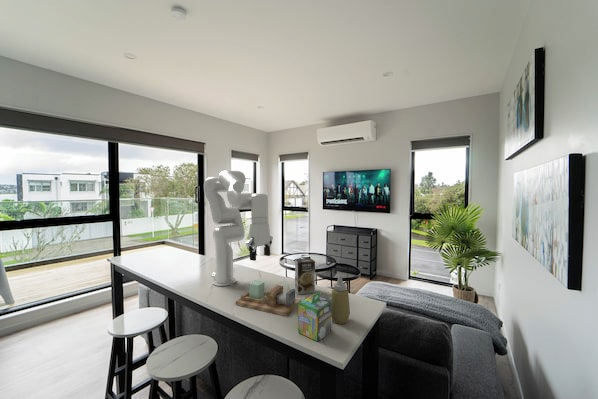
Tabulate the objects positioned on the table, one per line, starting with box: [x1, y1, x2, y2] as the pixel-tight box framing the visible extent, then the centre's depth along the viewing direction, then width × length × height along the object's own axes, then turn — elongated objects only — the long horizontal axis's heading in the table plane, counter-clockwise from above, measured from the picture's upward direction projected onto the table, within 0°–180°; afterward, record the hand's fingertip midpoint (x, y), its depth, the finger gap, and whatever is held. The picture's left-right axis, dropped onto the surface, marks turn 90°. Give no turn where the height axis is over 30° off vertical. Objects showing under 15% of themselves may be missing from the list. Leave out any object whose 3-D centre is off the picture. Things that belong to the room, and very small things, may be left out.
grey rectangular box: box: [276, 288, 296, 307], centre depth 113 cm, size 11×6×6 cm, turn 66°
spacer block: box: [248, 280, 265, 299], centre depth 118 cm, size 5×5×7 cm
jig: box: [235, 284, 302, 317], centre depth 116 cm, size 26×14×7 cm, turn 66°
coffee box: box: [294, 258, 316, 295], centre depth 130 cm, size 9×6×16 cm
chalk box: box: [297, 290, 333, 343], centre depth 92 cm, size 9×9×15 cm
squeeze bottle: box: [330, 274, 351, 325], centre depth 101 cm, size 8×8×18 cm
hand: (260, 257), depth 117 cm, fingers open, 9 cm apart
